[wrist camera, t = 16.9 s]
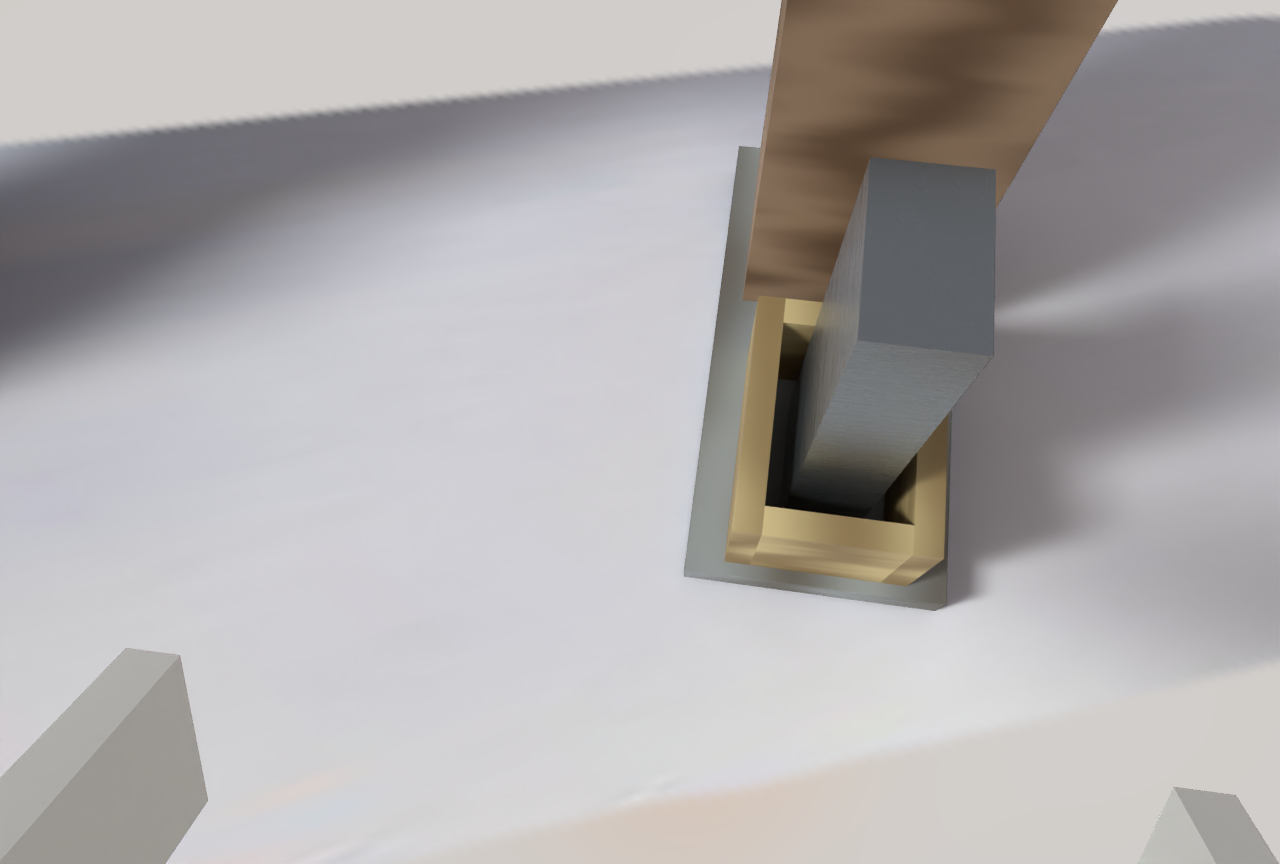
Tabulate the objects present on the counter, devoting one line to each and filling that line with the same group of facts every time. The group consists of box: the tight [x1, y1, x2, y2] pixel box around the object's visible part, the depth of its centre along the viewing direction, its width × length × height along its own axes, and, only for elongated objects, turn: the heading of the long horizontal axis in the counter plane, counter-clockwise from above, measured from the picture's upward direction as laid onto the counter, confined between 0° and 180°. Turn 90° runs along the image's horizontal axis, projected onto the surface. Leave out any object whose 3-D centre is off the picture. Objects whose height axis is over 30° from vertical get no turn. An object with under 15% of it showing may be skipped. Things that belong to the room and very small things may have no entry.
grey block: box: [780, 157, 996, 519], centre depth 28 cm, size 3×5×16 cm, turn 171°
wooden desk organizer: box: [684, 0, 1118, 611], centre depth 28 cm, size 10×20×24 cm, turn 172°
